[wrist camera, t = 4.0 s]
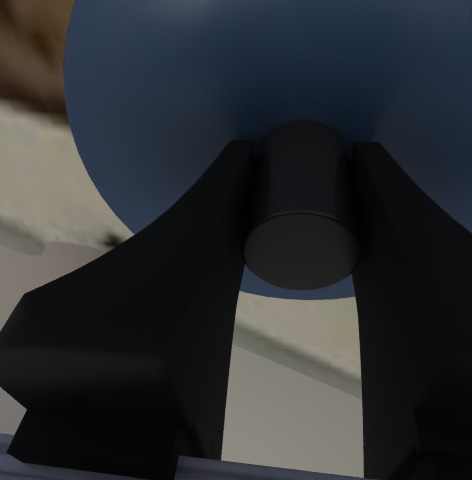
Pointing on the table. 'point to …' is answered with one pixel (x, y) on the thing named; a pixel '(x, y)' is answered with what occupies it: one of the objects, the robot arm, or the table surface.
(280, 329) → the table surface
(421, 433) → the robot arm
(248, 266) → the pot lid
